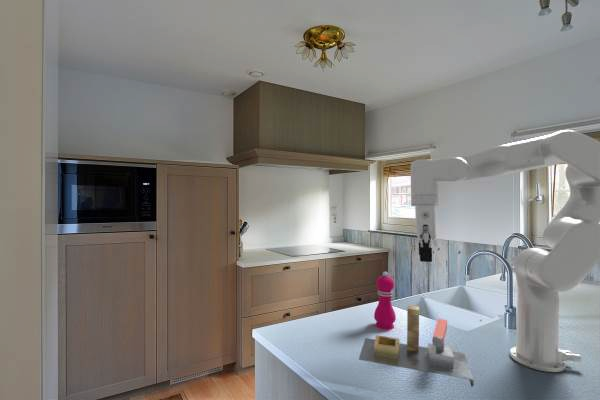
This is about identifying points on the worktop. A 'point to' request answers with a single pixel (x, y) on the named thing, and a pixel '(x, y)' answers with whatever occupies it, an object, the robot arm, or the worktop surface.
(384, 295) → the pepper mill
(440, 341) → the orange and grey block
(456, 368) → the board
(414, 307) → the peg
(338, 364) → the worktop surface
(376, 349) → the holed wooden block
